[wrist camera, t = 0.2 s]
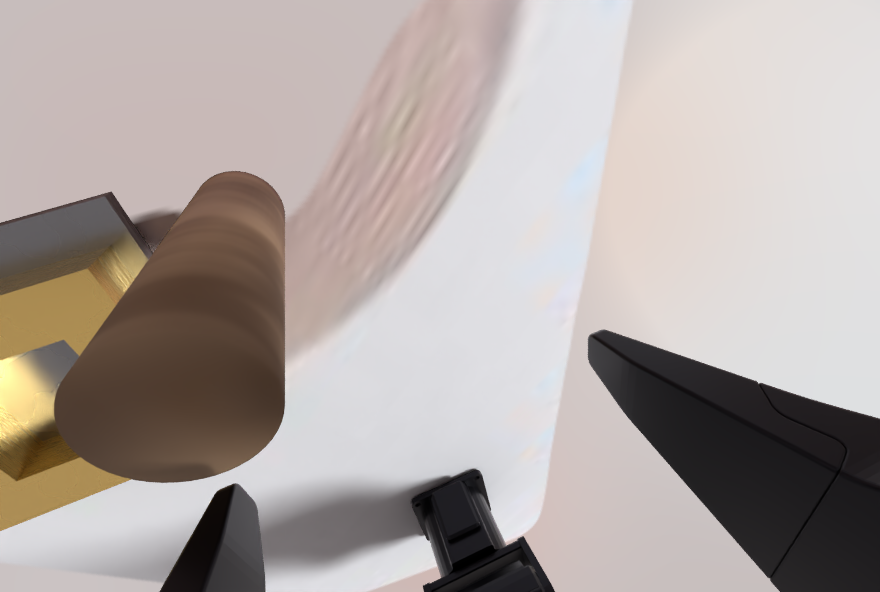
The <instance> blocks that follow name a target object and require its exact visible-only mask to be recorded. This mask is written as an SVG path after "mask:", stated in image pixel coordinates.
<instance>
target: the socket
mask: <svg viewBox="0 0 880 592" xmlns="http://www.w3.org/2000/svg"><path fill="white" fill-rule="evenodd" d="M152 254H153V253H152V251H151V250H150V248H149V247H148V245H147V244H146V242H145V241H144V239H143V238H142V236H141V235H140V233H139V232H138V230H137V229H136V228H135V226H134V225H133V223H132V222H131V220H130V219H129V217H128V216H127V214H126V213H125V211H124V210H123V208H122V207H121V205H120V204H119V202H118V201H117V199H116V198H115V196H114V195H113V193H112V192H108V193H105V194H101V195H98V196H95V197H91V198H87V199H84V200H80V201H77V202H73V203H69V204H66V205H63V206H59V207H56V208H52V209H48V210H45V211H41V212H38V213H34V214H30V215H27V216H23V217H20V218H16V219H13V220H9V221H5V222H2V223H0V531H2V530H4V529H7V528H9V527H12V526H14V525H17V524H19V523H22V522H24V521H27V520H30V519H32V518H35V517H37V516H40V515H42V514H45V513H47V512H50V511H52V510H55V509H57V508H60V507H63V506H65V505H68V504H70V503H73V502H75V501H78V500H80V499H83V498H85V497H88V496H90V495H93V494H95V493H98V492H101V491H103V490H106V489H108V488H111V487H113V486H116V485H118V484H121V483H123V482H126V481H128V480H131V479H129V478H124V477H121V476H117V475H114V474H111V473H108V472H106V471H104V470H102V469H99V468H97V467H95V466H94V465H92V464H90V463H88V462H87V461H85V460H84V459H82V458H81V457H80V456H79V455H77V454H76V453H75V452H74V451H73V450H72V449H71V448H70V447H69V446H68V445H67V444H66V442H65V441H64V439H63V438H62V436H61V435H60V433H59V430H58V428H57V426H56V422H55V418H54V401H55V396H56V392H57V390H58V388H59V386H60V383H61V381H62V380H63V379H64V377H65V376H66V374H67V373H68V372H69V370H70V369H71V367H72V366H73V365H74V363H75V362H76V360H77V359H78V358H79V356H80V355H81V353H82V352H83V351H84V349H85V348H86V346H87V345H88V344H89V342H90V341H91V339H92V338H93V337H94V335H95V334H96V332H97V331H98V330H99V328H100V327H101V325H102V324H103V323H104V321H105V320H106V318H107V317H108V316H109V314H110V313H111V311H112V310H113V309H114V307H115V306H116V304H117V303H118V302H119V300H120V299H121V297H122V296H123V295H124V293H125V292H126V290H127V289H128V288H129V286H130V285H131V283H132V282H133V281H134V279H135V278H136V277H137V275H138V274H139V272H140V271H141V270H142V268H143V267H144V265H145V264H146V263H147V261H148V260H149V258H150V257H151V256H152Z"/></svg>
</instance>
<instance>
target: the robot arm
mask: <svg viewBox="0 0 880 592" xmlns="http://www.w3.org/2000/svg"><path fill="white" fill-rule="evenodd" d="M588 360H589V363H590V365H591V366H592V368H593V369H594V371H595V372H596V374H597V375H598V377H599V378H600V379H601V381H602V382H603V384H604V385H605V386H606V388H607V389H608V391H609V392H610V393H611V395H612V396H613V398H614V399H615V401H616V402H617V404H618V405H619V406H620V408H621V409H622V410H623V412H624V413H625V414H626V415H627V417H628V418H629V419H630V420H631V421H632V423H633V424H634V425H635V426H636V427H637V428H638V429H639V431H640V432H641V433H642V434H643V435H644V436H645V437H646V438H647V440H648V441H649V442H650V443H651V444H652V446H653V447H654V448H655V449H656V450H657V451H658V452H659V454H660V455H661V456H662V457H663V458H664V459H665V460H666V462H667V463H668V464H669V465H670V466H671V467H672V468H673V470H674V471H675V472H676V473H677V474H678V475H679V476H680V478H681V479H682V480H683V481H684V482H685V483H686V484H687V486H688V487H689V488H690V489H691V490H692V491H693V492H694V493H695V495H696V496H697V497H698V498H699V499H700V500H701V502H702V503H703V504H704V505H705V506H706V507H707V508H708V509H709V511H710V512H711V513H712V514H713V515H714V516H715V517H716V519H717V520H718V521H719V522H720V523H721V524H722V526H723V527H724V528H725V529H726V530H727V531H728V532H729V534H730V535H731V536H732V537H733V538H734V539H735V540H736V542H737V543H738V544H739V545H740V546H741V547H742V548H743V550H744V551H745V552H746V553H747V554H748V555H749V556H750V558H751V559H752V560H753V561H754V562H755V563H756V565H757V566H758V567H759V568H760V569H761V570H762V571H763V572H764V574H765V575H766V576H767V577H768V578H770V581H771V582H772V583H773V584H774V585H775V587H776V588H777V589H778V590H779V591H780V592H880V419H879V418H875V417H872V416H868V415H864V414H861V413H857V412H854V411H850V410H846V409H843V408H839V407H836V406H832V405H829V404H826V403H822V402H818V401H815V400H811V399H808V398H805V397H802V396H799V395H796V394H793V393H790V392H787V391H783V390H781V389H777V388H775V387H772V386H769V385H766V384H763V383H759V384H758V382H757V381H754V380H751V379H748V378H745V377H742V376H739V375H736V374H733V373H731V372H728V371H725V370H722V369H719V368H716V367H713V366H710V365H707V364H704V363H701V362H698V361H695V360H693V359H690V358H687V357H684V356H681V355H678V354H675V353H672V352H669V351H666V350H663V349H660V348H657V347H654V346H652V345H649V344H646V343H643V342H640V341H637V340H634V339H631V338H628V337H625V336H622V335H619V334H616V333H613V332H610V331H607V330H600V331H598V332H595V333H592V334H591V335H589V337H588ZM411 504H412V507H413V510H414V512H415V514H416V516H417V519H418V521H419V523H420V525H421V527H422V530H423V532H424V534H425V536H426V539H427V540H429V541H430V543H431V546H432V549H433V552H434V556H435V559H436V562H437V565H438V568H439V572H440V575H441V578H440V579H438V580H436V581H434V582H432V583H427V584H425V585H423V589H424V592H555V591H554V589H553V587H552V585H551V583H550V581H549V579H548V578H547V576H546V574H545V573H544V571H543V569H542V567H541V566H540V564H539V562H538V561H537V559H536V557H535V555H534V554H533V552H532V550H531V549H530V547H529V545H528V544H527V542H526V540H525V538H524V537H523V536H522V537H520V538H518V539H517V541H515V542H513V543H511V544H509V545H507V546H506V544H505V542H504V540H503V538H502V535H501V533H500V531H499V529H498V527H497V525H496V522H495V520H494V518H493V516H492V514H491V512H490V511H491V508H490V504H489V500H488V496H487V492H486V488H485V485H484V481H483V477H482V474H481V472H480V471H479V470H475V471H473V472H471V473H468V474H466V475H464V476H462V477H460V478H457V479H455V480H453V481H451V482H448V483H446V484H444V485H442V486H440V487H437V488H435V489H433V490H431V491H429V492H426V493H424V494H422V495H420V496H417V497H415V498H414V499H412V501H411ZM160 592H265V572H264V562H263V554H262V545H261V536H260V527H259V518H258V510H257V506H256V504H255V502H254V500H253V499H252V498H251V497H250V496H249V495H248V494H247V492H246V491H245V490H244V489H243V488H242V487H241V486H240V485H239V484H236V483H235V484H232V485H229V486H227V487H225V488H222V489H220V490H218V491H217V492H216V494H215V495H214V497H213V498H212V500H211V502H210V504H209V505H208V507H207V509H206V511H205V512H204V514H203V516H202V518H201V519H200V521H199V523H198V525H197V527H196V528H195V530H194V532H193V534H192V535H191V537H190V539H189V541H188V542H187V544H186V546H185V548H184V549H183V551H182V553H181V555H180V556H179V558H178V560H177V562H176V563H175V565H174V567H173V569H172V570H171V572H170V574H169V576H168V577H167V579H166V581H165V583H164V585H163V587H162V588H161V590H160Z"/></svg>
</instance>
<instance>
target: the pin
mask: <svg viewBox="0 0 880 592" xmlns="http://www.w3.org/2000/svg"><path fill="white" fill-rule="evenodd" d="M284 407H285V211H284V206H283V203H282V200H281V199H280V197H279V195H278V194H277V192H276V191H275V190H274V189H273V187H271V185H269V184H268V183H267V182H266V181H264V180H263V179H261V178H259V177H257V176H255V175H252V174H249V173H246V172H240V171H231V172H223V173H220V174H217V175H214V176H213V177H211V178H209V179H208V180H207V181H206V182H204V183H203V184H202V186H201V187H200V188H199V190H198V191H197V193H196V194H195V196H194V197H193V198H192V200H191V201H190V202H189V204H188V205H187V207H186V208H185V209H184V211H183V212H182V214H181V215H180V216H179V218H178V219H177V221H176V222H175V223H174V225H173V226H172V228H171V229H170V230H169V232H168V233H167V235H166V236H165V237H164V239H163V240H162V242H161V243H160V244H159V246H158V247H157V249H156V250H155V251H154V253H153V254H152V256H151V257H150V258H149V260H148V261H147V263H146V264H145V265H144V267H143V268H142V270H141V271H140V272H139V274H138V275H137V277H136V278H135V279H134V281H133V282H132V283H131V285H130V286H129V288H128V289H127V290H126V292H125V293H124V295H123V296H122V297H121V299H120V300H119V302H118V303H117V304H116V306H115V307H114V309H113V310H112V311H111V313H110V314H109V316H108V317H107V318H106V320H105V321H104V323H103V324H102V325H101V327H100V328H99V330H98V331H97V332H96V334H95V335H94V337H93V338H92V339H91V341H90V342H89V344H88V345H87V346H86V348H85V349H84V351H83V352H82V353H81V355H80V356H79V358H78V359H77V360H76V362H75V363H74V365H73V366H72V367H71V369H70V370H69V372H68V373H67V374H66V376H65V377H64V379H63V380H62V381H61V383H60V386H59V388H58V390H57V392H56V396H55V401H54V418H55V422H56V426H57V428H58V430H59V433H60V435H61V436H62V438H63V439H64V441H65V442H66V444H67V445H68V446H69V447H70V448H71V449H72V450H73V451H74V452H75V453H76V454H77V455H79V456H80V457H81V458H82V459H84V460H85V461H87V462H88V463H90V464H92V465H94V466H95V467H97V468H99V469H102V470H104V471H106V472H108V473H111V474H114V475H117V476H121V477H124V478H129V479H133V480H139V481H146V482H161V483H168V482H184V481H193V480H198V479H203V478H207V477H211V476H215V475H218V474H221V473H223V472H226V471H229V470H231V469H233V468H235V467H237V466H239V465H241V464H243V463H245V462H246V461H248V460H250V459H251V458H252V457H254V456H255V455H257V454H258V453H259V452H260V451H261V450H262V449H264V448H265V447H266V446H267V444H268V443H269V442H270V441H271V440H272V439H273V437H274V436H275V434H276V433H277V431H278V429H279V427H280V425H281V422H282V419H283V415H284Z"/></svg>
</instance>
